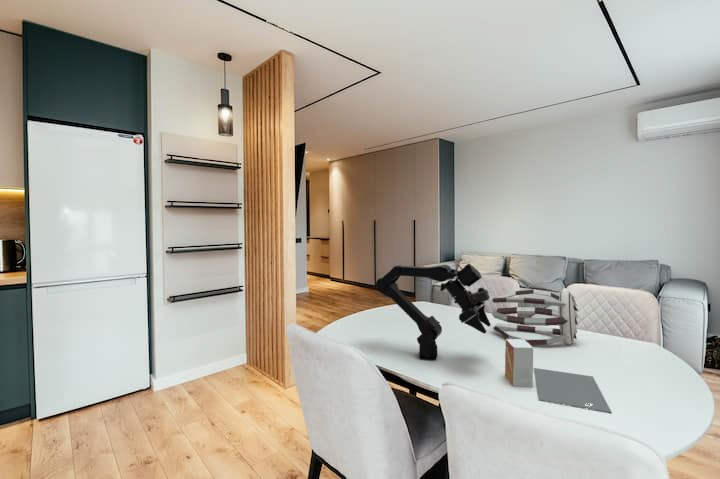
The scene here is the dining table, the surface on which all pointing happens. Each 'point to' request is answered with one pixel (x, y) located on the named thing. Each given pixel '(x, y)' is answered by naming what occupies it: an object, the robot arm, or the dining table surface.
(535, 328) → the decorative basket
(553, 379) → the mouse pad
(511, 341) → the small box
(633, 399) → the dining table surface
